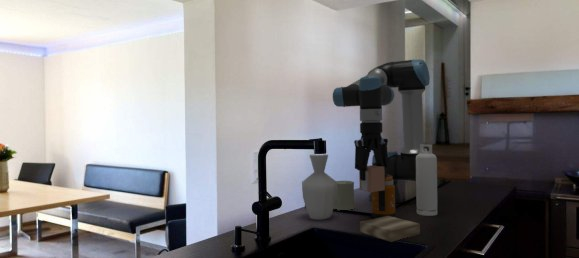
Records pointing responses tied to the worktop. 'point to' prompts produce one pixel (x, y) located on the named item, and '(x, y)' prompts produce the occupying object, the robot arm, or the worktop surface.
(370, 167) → the tower block
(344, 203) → the can
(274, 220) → the worktop surface
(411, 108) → the robot arm
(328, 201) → the vase
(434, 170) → the bottle
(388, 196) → the canister
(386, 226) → the plinth block
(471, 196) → the worktop surface
